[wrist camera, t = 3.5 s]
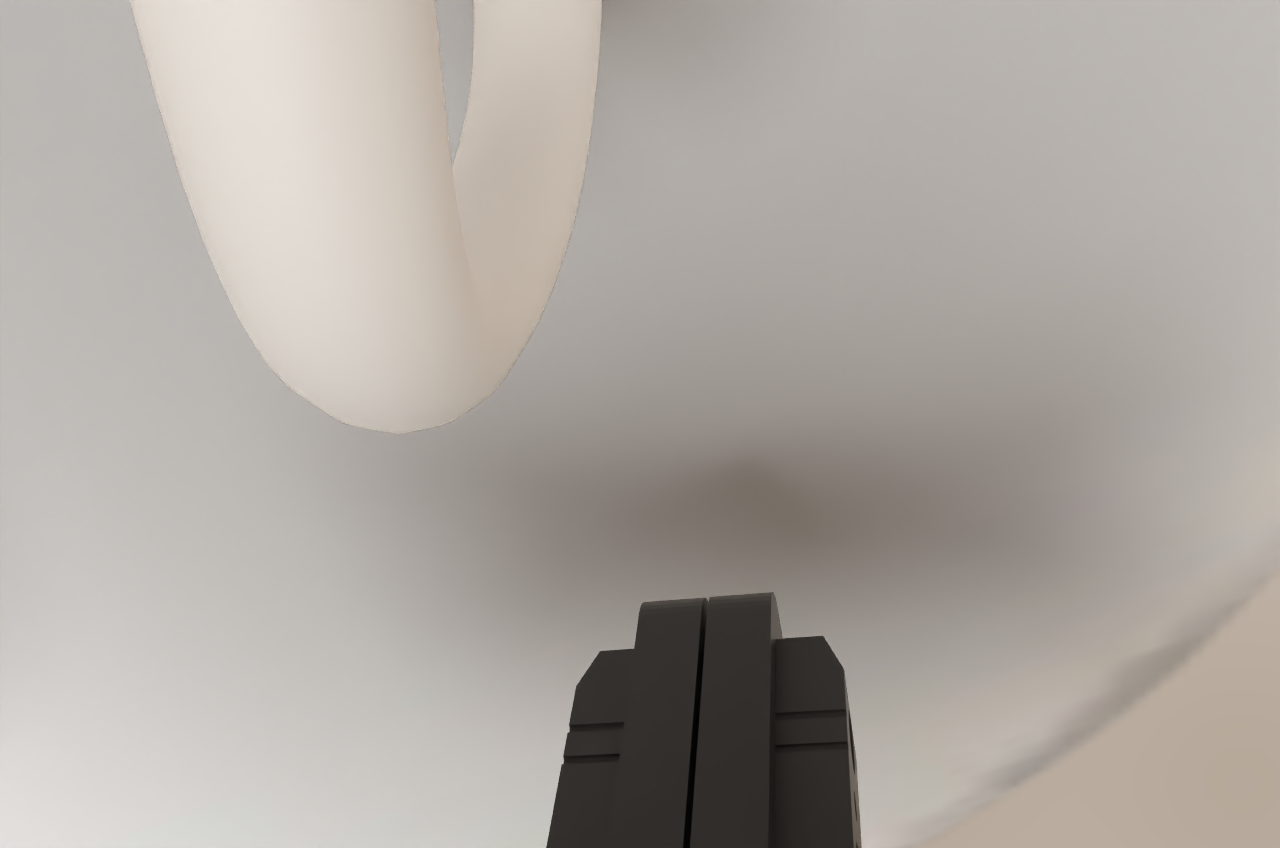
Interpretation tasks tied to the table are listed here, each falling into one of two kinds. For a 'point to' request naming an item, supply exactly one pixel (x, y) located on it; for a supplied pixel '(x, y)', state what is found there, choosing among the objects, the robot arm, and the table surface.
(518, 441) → the table surface
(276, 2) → the cup
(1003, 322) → the table surface
